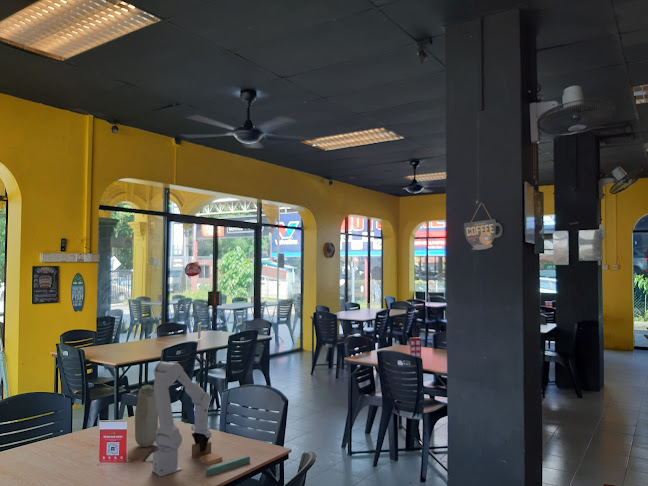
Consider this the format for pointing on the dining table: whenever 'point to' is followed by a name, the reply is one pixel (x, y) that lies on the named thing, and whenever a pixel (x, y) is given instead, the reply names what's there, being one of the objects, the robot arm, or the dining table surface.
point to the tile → (210, 458)
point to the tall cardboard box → (198, 453)
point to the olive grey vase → (146, 417)
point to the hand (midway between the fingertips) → (201, 450)
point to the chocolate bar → (150, 455)
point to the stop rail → (227, 465)
